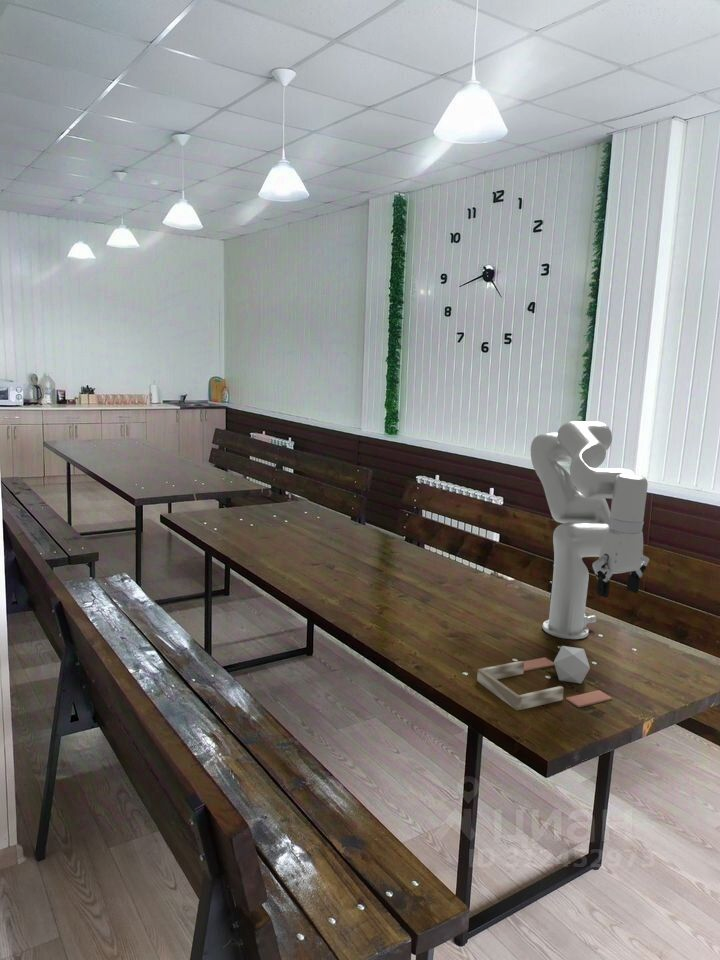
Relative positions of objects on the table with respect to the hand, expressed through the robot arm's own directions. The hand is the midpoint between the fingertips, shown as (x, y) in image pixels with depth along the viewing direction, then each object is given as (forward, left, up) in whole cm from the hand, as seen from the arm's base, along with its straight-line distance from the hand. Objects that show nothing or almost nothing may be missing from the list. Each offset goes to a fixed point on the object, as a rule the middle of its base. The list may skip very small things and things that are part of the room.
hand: (617, 593), depth 174 cm
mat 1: (+16, -9, -20) cm, 27 cm away
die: (+13, 0, -21) cm, 24 cm away
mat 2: (+16, +10, -20) cm, 27 cm away
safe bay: (+28, 0, -20) cm, 34 cm away
